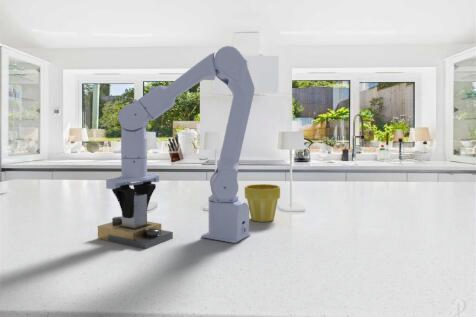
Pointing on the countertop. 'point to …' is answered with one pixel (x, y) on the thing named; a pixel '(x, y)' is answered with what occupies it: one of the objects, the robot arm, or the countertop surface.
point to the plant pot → (262, 201)
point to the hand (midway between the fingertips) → (135, 215)
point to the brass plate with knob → (133, 234)
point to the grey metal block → (137, 213)
